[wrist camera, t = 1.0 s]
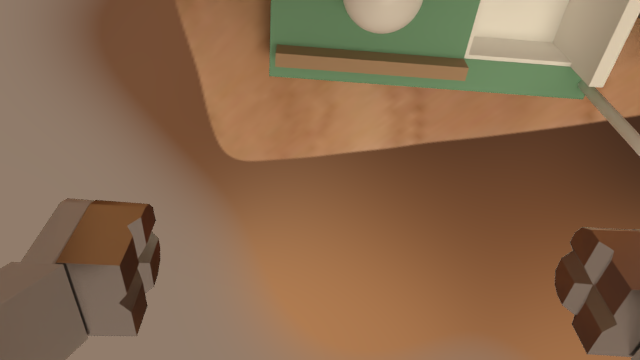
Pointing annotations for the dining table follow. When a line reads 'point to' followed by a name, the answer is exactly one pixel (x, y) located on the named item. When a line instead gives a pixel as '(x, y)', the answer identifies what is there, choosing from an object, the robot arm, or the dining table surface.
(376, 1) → the ball
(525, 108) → the dining table surface
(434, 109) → the dining table surface
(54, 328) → the robot arm
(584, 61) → the mini golf course
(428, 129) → the dining table surface
